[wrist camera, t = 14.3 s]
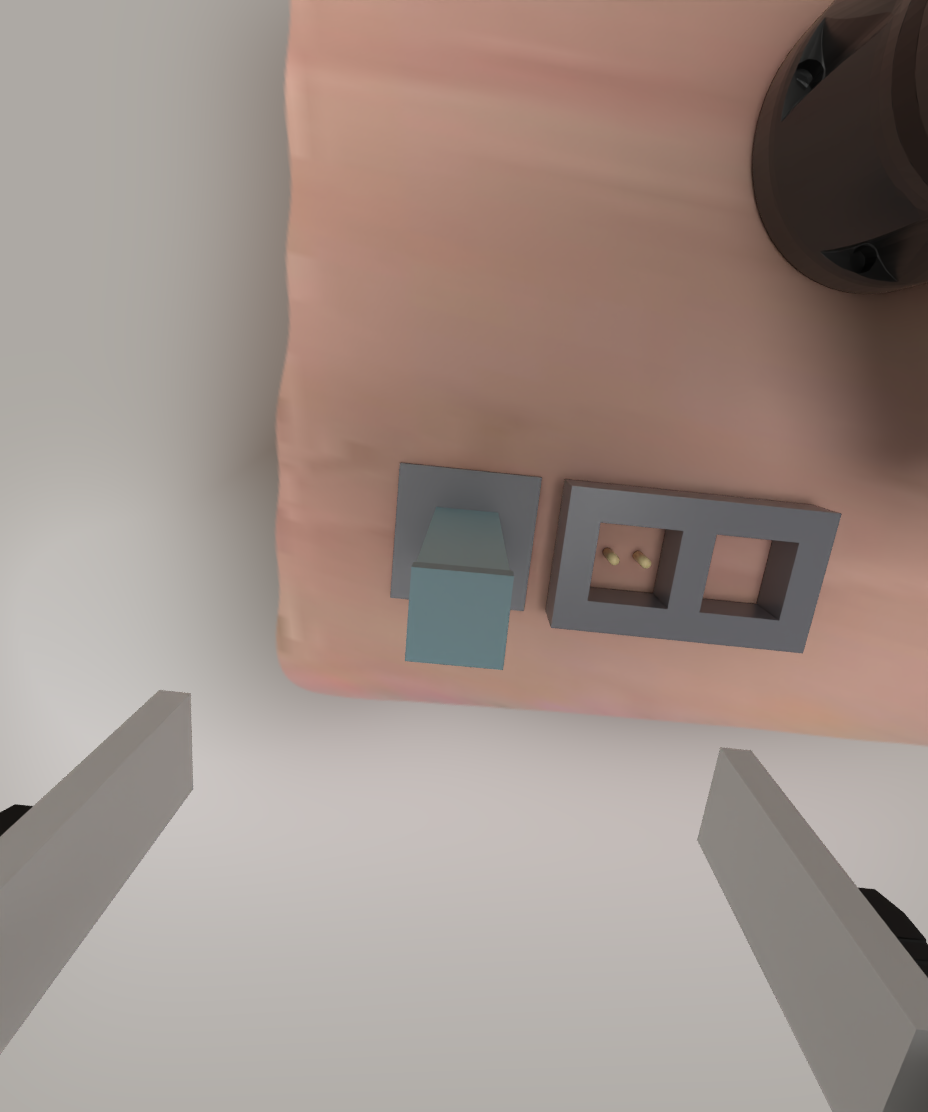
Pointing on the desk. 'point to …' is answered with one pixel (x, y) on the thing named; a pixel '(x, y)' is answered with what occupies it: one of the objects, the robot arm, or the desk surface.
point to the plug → (460, 592)
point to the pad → (469, 492)
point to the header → (690, 566)
